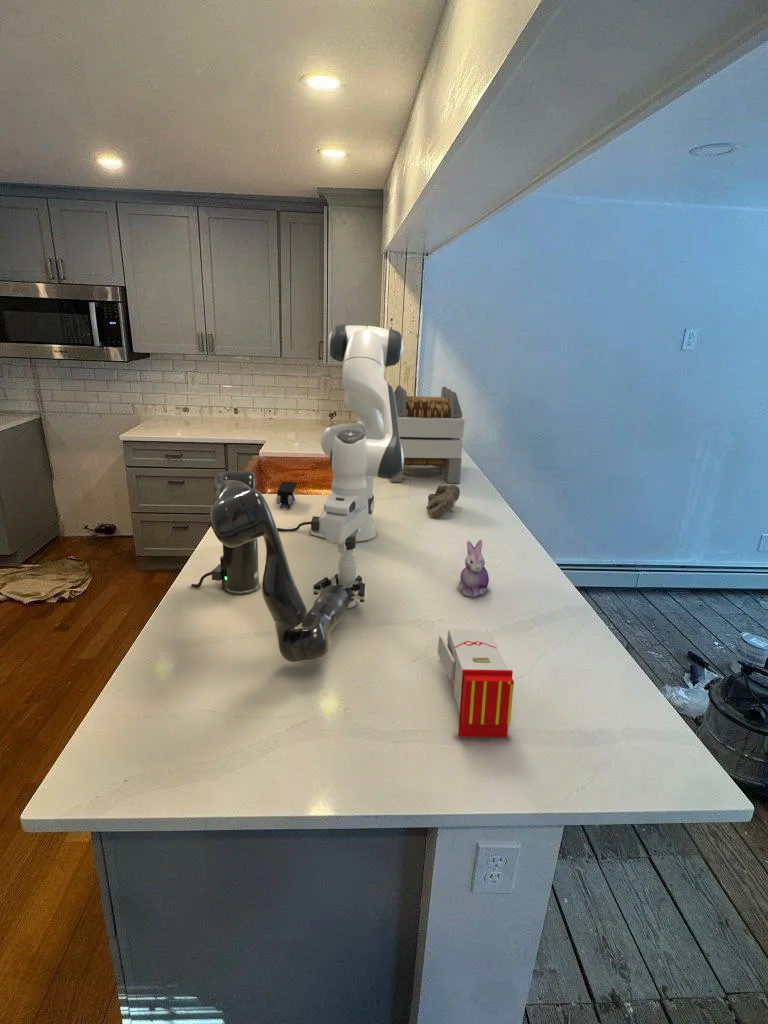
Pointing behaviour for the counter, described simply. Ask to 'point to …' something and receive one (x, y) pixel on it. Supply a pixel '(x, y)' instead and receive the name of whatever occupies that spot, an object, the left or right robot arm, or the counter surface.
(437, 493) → the fossil
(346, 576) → the bottle
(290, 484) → the figurine character
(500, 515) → the counter surface
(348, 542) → the cap
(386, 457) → the right robot arm
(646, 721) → the counter surface
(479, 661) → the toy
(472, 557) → the figurine
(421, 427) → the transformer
